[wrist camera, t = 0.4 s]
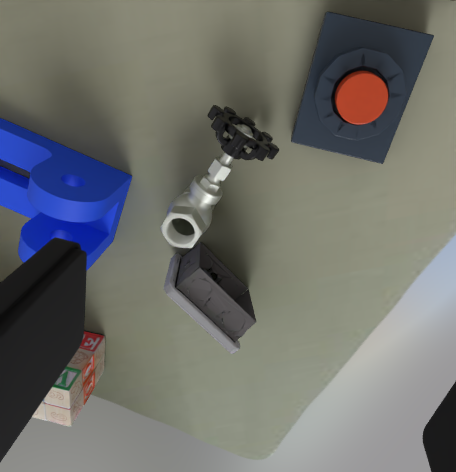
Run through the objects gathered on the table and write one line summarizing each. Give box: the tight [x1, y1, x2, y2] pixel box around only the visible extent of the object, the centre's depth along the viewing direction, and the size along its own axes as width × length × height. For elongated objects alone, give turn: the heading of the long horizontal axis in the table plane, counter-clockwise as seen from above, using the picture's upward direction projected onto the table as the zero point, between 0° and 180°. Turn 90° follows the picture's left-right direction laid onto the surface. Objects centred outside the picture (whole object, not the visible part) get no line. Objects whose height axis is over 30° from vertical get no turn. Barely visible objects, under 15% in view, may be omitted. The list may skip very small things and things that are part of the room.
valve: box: [160, 105, 279, 248], centre depth 37 cm, size 7×7×12 cm
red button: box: [335, 71, 388, 125], centre depth 30 cm, size 4×4×2 cm
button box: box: [291, 12, 434, 164], centre depth 32 cm, size 10×8×4 cm
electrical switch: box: [164, 242, 256, 353], centre depth 41 cm, size 9×5×9 cm, turn 44°
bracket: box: [0, 118, 132, 270], centre depth 39 cm, size 18×8×9 cm, turn 68°
